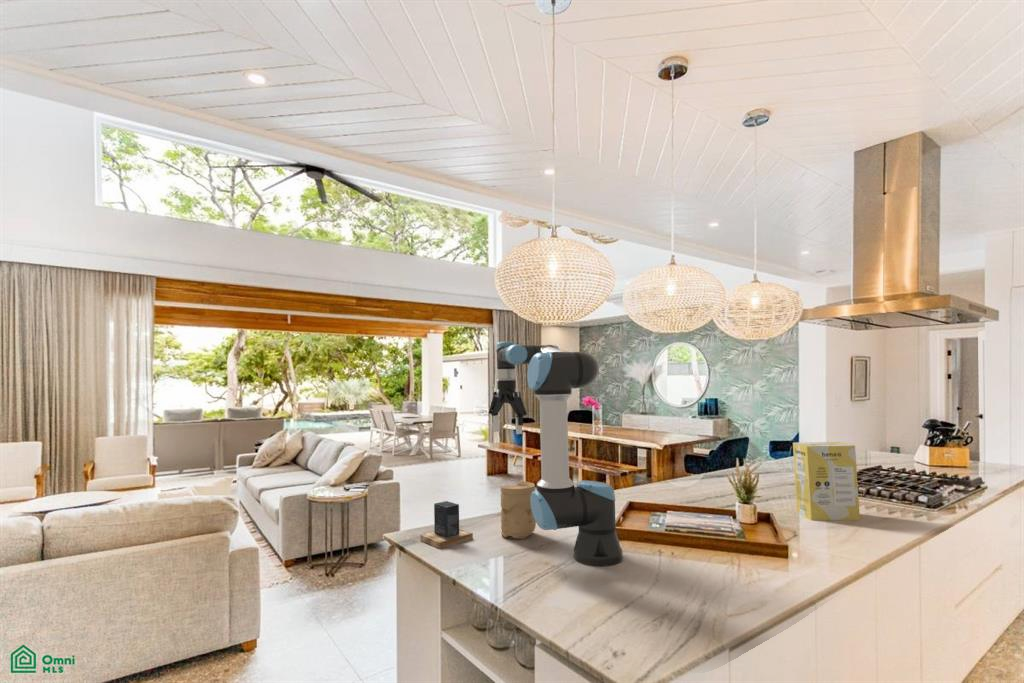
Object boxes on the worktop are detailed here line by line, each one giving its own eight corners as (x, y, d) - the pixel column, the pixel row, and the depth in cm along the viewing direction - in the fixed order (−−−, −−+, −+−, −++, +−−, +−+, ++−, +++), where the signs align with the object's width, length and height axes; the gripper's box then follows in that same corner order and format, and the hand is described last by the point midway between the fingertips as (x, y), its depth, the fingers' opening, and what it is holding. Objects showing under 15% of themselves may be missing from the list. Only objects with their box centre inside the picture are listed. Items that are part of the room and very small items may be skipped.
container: (494, 535, 182) (493, 485, 183) (519, 528, 190) (518, 479, 192) (517, 543, 173) (516, 490, 174) (543, 535, 181) (542, 484, 182)
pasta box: (842, 512, 203) (838, 441, 204) (859, 519, 192) (855, 445, 194) (796, 512, 203) (792, 442, 205) (811, 520, 193) (806, 446, 195)
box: (459, 534, 177) (459, 504, 178) (446, 538, 174) (445, 507, 174) (447, 529, 183) (446, 500, 184) (433, 533, 179) (433, 503, 180)
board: (472, 539, 179) (472, 532, 179) (440, 548, 169) (439, 542, 169) (452, 531, 187) (452, 526, 188) (420, 540, 178) (420, 534, 178)
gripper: (534, 379, 197) (536, 433, 196) (493, 379, 216) (494, 429, 214) (521, 379, 192) (522, 435, 191) (479, 380, 210) (480, 431, 209)
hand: (507, 432), depth 202 cm, fingers open, 13 cm apart
